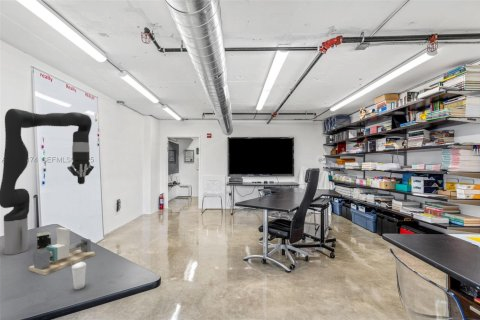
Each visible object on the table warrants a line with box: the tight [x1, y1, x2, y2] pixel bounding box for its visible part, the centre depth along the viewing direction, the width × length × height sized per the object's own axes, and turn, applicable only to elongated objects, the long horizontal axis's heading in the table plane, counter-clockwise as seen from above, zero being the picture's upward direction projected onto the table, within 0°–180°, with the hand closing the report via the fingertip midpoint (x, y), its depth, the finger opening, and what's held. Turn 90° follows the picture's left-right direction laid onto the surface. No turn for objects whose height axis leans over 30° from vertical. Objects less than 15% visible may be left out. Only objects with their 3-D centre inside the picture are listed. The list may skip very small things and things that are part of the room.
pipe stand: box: [28, 238, 96, 276], centre depth 111 cm, size 22×12×8 cm, turn 157°
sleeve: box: [51, 227, 71, 260], centre depth 109 cm, size 5×7×13 cm
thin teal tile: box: [46, 245, 58, 262], centre depth 106 cm, size 1×6×6 cm, turn 67°
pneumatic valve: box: [35, 230, 52, 250], centre depth 121 cm, size 6×12×12 cm, turn 42°
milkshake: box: [70, 261, 87, 290], centre depth 88 cm, size 4×5×10 cm
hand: (81, 183), depth 124 cm, fingers closed
